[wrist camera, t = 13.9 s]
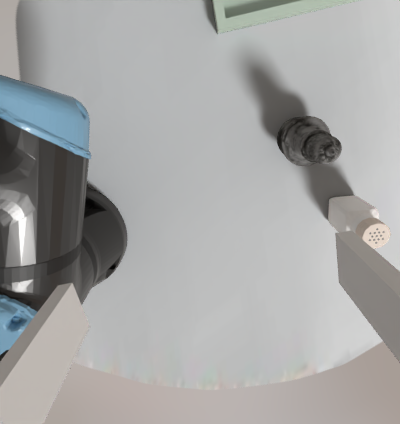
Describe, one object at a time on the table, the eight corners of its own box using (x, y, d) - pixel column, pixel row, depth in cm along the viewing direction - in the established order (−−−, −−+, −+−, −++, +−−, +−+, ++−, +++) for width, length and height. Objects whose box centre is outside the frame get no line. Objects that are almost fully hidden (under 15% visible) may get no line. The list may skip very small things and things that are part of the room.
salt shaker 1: (267, 130, 41) (292, 141, 30) (309, 105, 40) (351, 108, 29) (286, 168, 43) (317, 193, 32) (327, 146, 42) (374, 164, 31)
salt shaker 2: (354, 220, 45) (392, 250, 36) (326, 223, 46) (357, 253, 37) (356, 193, 44) (396, 217, 35) (327, 196, 44) (359, 221, 35)
